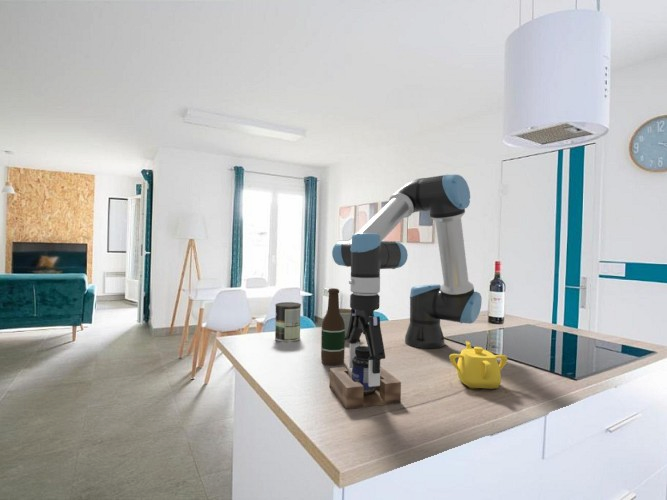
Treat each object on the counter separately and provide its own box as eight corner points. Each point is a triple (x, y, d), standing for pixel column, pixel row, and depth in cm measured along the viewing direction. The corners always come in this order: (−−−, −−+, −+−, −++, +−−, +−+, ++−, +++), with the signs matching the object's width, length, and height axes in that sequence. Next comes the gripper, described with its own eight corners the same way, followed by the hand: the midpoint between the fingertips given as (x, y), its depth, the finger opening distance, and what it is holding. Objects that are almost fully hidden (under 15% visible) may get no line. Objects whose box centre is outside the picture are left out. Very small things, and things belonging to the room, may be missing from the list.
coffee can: (271, 341, 144) (272, 305, 144) (279, 335, 154) (279, 301, 154) (297, 342, 143) (297, 306, 143) (302, 336, 153) (303, 302, 153)
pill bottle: (347, 388, 95) (348, 346, 95) (368, 385, 98) (368, 344, 98) (358, 397, 90) (359, 352, 90) (379, 393, 92) (380, 350, 92)
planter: (324, 333, 159) (325, 308, 158) (352, 333, 160) (353, 308, 160) (327, 340, 146) (327, 313, 146) (357, 340, 148) (358, 313, 148)
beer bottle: (342, 366, 115) (343, 290, 115) (318, 364, 117) (319, 289, 116) (346, 359, 123) (347, 287, 122) (323, 357, 124) (324, 287, 124)
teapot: (441, 381, 104) (442, 345, 104) (465, 371, 112) (466, 338, 112) (488, 397, 93) (489, 357, 93) (511, 385, 102) (512, 348, 101)
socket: (377, 381, 103) (377, 364, 103) (400, 402, 89) (400, 382, 89) (329, 386, 98) (329, 368, 98) (346, 409, 85) (346, 387, 85)
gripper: (336, 288, 104) (335, 362, 105) (370, 301, 81) (368, 396, 81) (360, 287, 107) (359, 360, 107) (401, 300, 83) (399, 393, 83)
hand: (363, 376), depth 94 cm, fingers open, 13 cm apart
